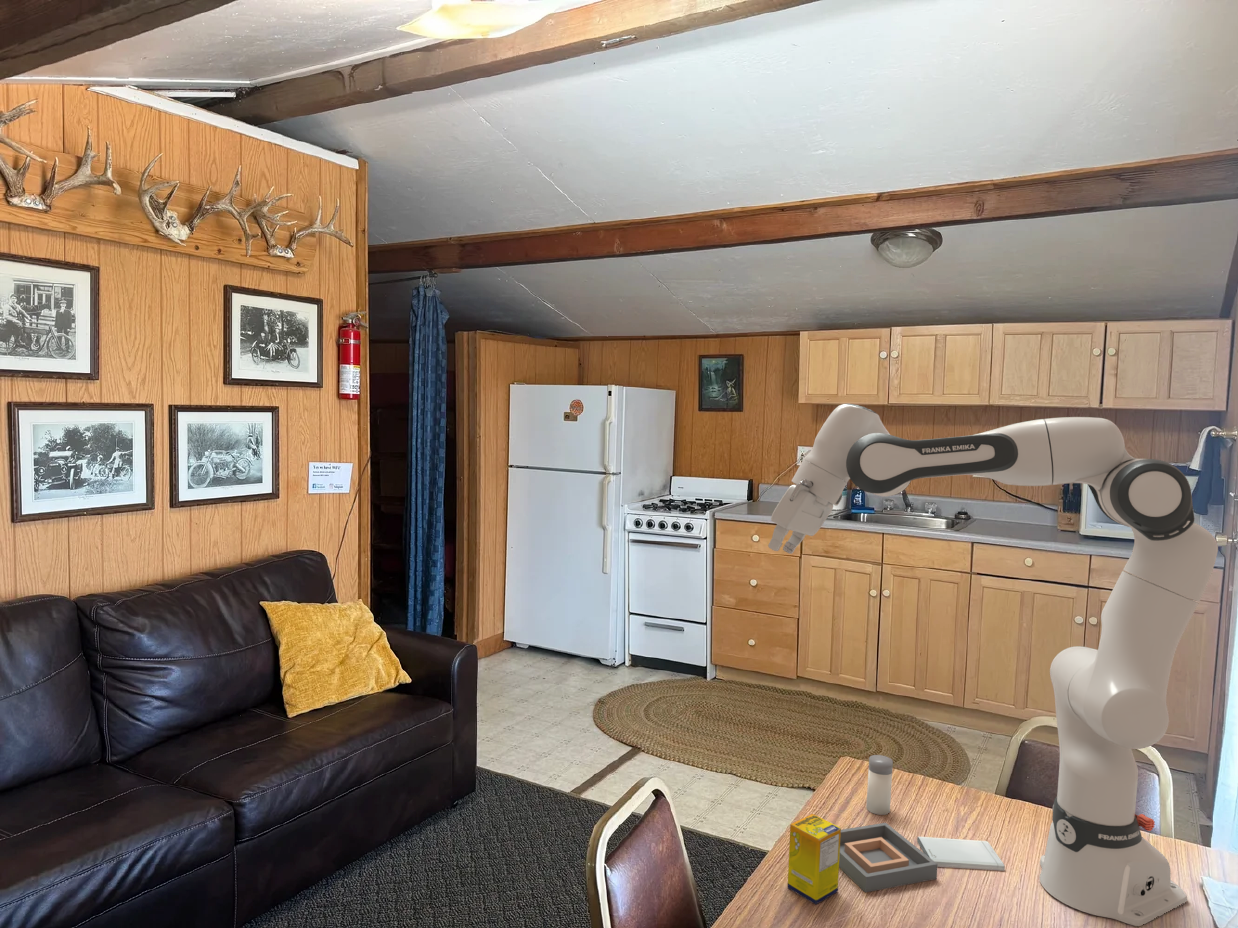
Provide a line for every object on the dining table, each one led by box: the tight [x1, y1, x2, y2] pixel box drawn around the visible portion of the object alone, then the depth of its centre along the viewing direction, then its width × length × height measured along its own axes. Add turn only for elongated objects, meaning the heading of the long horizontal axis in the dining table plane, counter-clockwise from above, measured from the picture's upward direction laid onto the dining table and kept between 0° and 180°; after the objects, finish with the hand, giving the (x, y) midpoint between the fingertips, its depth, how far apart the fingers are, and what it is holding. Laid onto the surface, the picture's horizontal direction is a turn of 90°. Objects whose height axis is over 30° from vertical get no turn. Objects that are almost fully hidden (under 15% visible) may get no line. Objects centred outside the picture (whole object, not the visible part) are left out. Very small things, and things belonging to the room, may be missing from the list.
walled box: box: [839, 822, 938, 893], centre depth 144 cm, size 14×14×3 cm
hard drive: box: [916, 836, 1006, 872], centre depth 147 cm, size 2×8×12 cm
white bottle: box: [865, 754, 894, 816], centre depth 163 cm, size 4×4×10 cm
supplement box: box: [787, 813, 842, 905], centre depth 135 cm, size 6×6×11 cm
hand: (779, 550), depth 153 cm, fingers open, 8 cm apart
